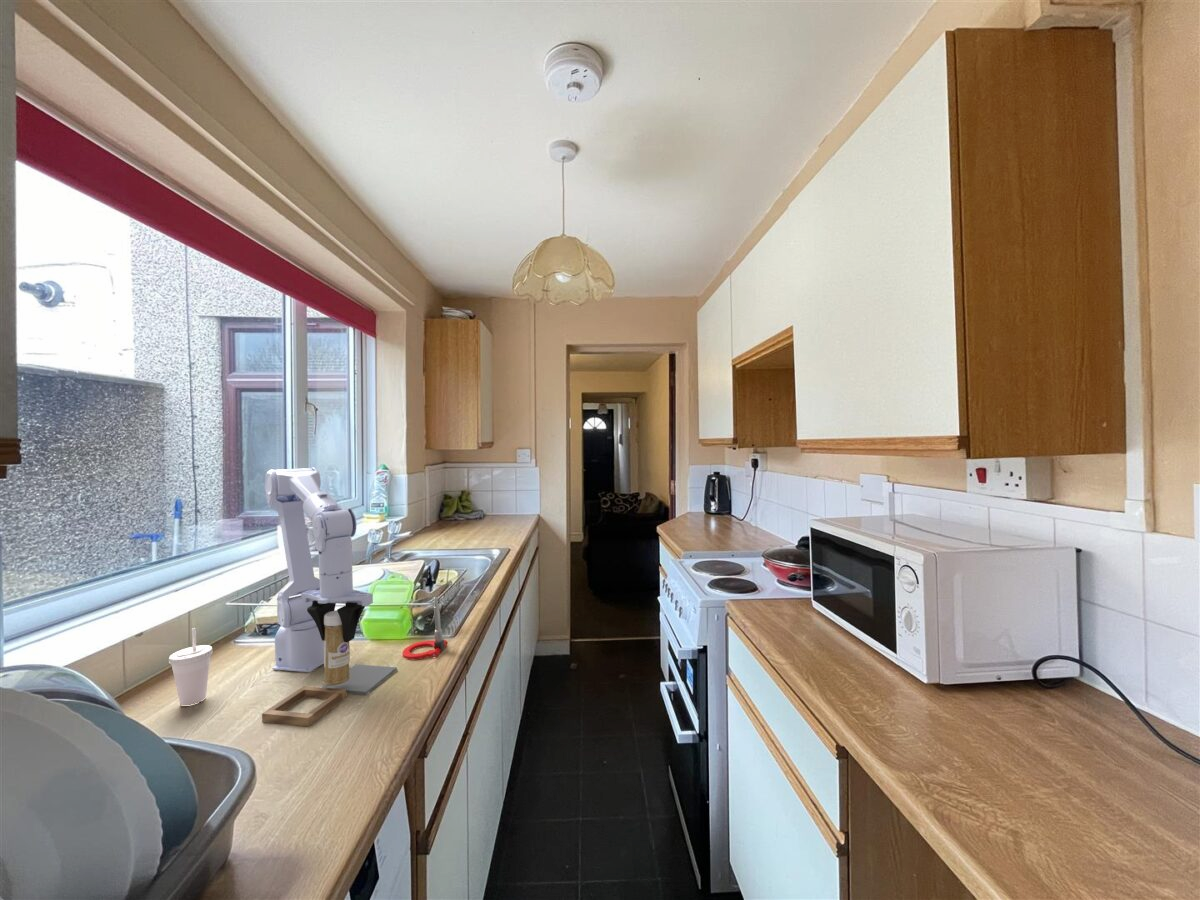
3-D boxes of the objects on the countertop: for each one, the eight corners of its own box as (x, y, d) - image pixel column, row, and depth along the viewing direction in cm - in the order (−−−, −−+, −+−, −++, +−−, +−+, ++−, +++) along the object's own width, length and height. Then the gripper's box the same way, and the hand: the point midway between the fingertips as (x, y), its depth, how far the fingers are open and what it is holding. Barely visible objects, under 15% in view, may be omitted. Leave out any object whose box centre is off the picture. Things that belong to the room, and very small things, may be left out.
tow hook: (395, 662, 107) (436, 660, 106) (391, 605, 107) (431, 603, 106) (412, 646, 115) (449, 644, 115) (408, 593, 115) (445, 591, 114)
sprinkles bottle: (337, 687, 90) (338, 617, 91) (318, 685, 92) (318, 615, 92) (355, 676, 95) (355, 609, 95) (336, 674, 96) (336, 608, 96)
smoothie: (221, 696, 92) (218, 626, 92) (181, 714, 87) (178, 638, 86) (203, 690, 95) (200, 621, 95) (163, 706, 89) (160, 633, 89)
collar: (262, 721, 84) (261, 713, 84) (304, 693, 93) (303, 685, 93) (308, 726, 82) (308, 718, 82) (346, 697, 91) (346, 689, 91)
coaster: (321, 691, 94) (321, 688, 94) (355, 666, 104) (355, 664, 104) (366, 694, 92) (366, 691, 92) (396, 669, 102) (396, 667, 102)
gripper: (287, 575, 91) (289, 645, 91) (354, 578, 88) (356, 650, 88) (315, 565, 98) (318, 630, 98) (378, 568, 95) (380, 635, 95)
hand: (338, 639), depth 94 cm, fingers closed on sprinkles bottle, 4 cm apart
